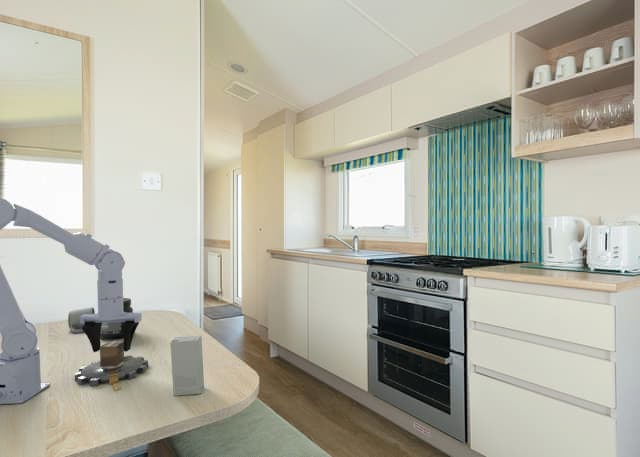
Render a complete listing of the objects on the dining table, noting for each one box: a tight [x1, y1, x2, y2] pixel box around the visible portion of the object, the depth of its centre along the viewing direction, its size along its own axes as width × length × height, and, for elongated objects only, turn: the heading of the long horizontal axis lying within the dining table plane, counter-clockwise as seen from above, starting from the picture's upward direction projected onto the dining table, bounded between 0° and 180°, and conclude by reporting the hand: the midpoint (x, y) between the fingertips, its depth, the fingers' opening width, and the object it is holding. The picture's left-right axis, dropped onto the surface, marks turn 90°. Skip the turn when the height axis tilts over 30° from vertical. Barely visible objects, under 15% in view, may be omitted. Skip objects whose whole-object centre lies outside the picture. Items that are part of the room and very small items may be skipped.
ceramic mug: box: [67, 306, 96, 334], centre depth 142 cm, size 10×8×7 cm
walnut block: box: [99, 340, 125, 367], centre depth 100 cm, size 4×4×5 cm
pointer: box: [112, 382, 121, 392], centre depth 91 cm, size 4×1×1 cm, turn 32°
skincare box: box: [169, 335, 205, 397], centre depth 88 cm, size 6×4×12 cm
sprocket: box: [74, 355, 149, 387], centre depth 100 cm, size 16×16×4 cm
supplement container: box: [100, 297, 134, 341], centre depth 133 cm, size 10×10×12 cm
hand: (112, 350), depth 100 cm, fingers open, 7 cm apart
